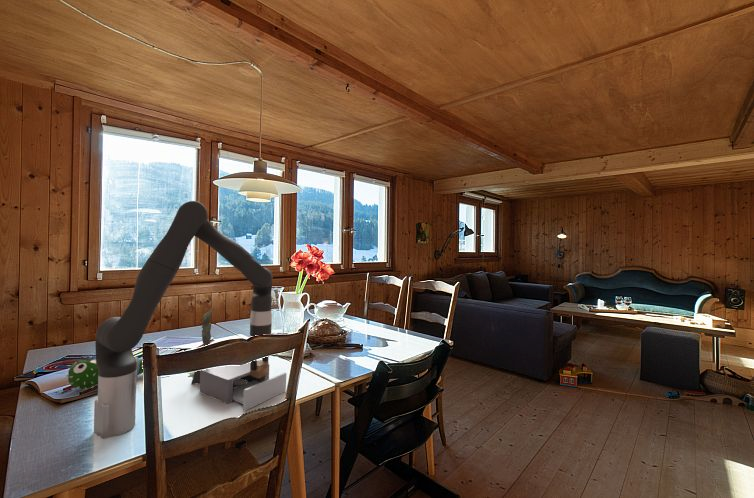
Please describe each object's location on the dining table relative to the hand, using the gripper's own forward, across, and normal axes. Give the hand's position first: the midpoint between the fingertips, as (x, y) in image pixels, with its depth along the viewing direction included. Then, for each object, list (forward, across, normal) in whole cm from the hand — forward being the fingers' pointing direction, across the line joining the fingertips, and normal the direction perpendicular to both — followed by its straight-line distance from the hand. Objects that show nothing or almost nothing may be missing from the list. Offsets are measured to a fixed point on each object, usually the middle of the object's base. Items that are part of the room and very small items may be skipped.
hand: (259, 367), depth 128 cm
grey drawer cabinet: (+11, 0, +13) cm, 17 cm away
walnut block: (+3, 0, 0) cm, 3 cm away
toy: (+11, -22, +54) cm, 60 cm away
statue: (+11, -2, +30) cm, 32 cm away
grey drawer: (+11, 0, +3) cm, 11 cm away
